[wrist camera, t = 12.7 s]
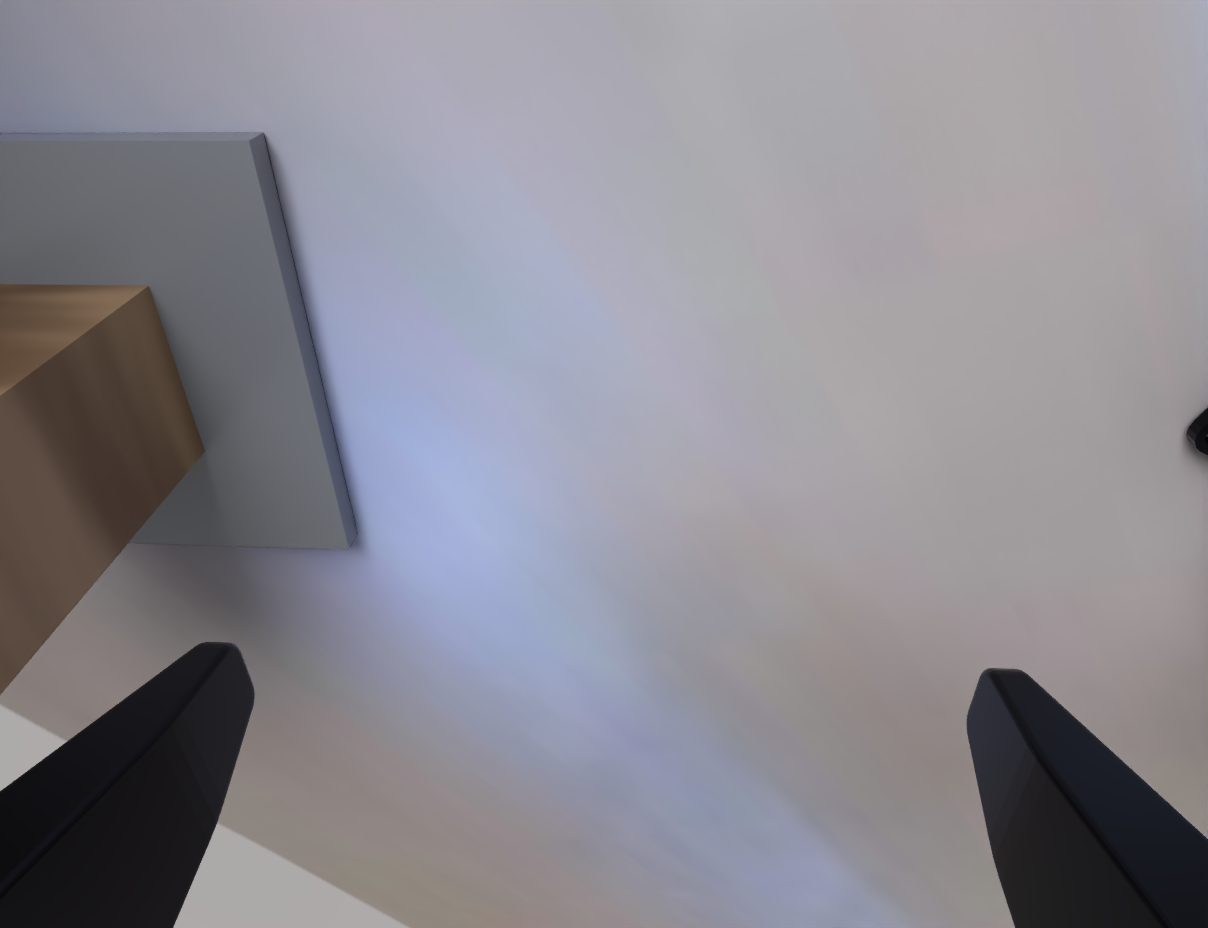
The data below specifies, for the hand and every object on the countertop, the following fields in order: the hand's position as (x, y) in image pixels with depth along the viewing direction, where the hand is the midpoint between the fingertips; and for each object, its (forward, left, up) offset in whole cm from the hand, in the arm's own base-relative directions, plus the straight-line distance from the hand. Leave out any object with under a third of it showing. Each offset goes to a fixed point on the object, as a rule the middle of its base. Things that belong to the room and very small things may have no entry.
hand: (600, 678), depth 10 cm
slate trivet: (+12, +9, -13) cm, 20 cm away
